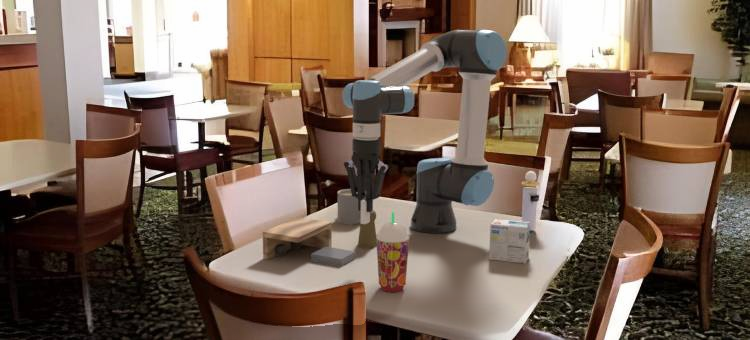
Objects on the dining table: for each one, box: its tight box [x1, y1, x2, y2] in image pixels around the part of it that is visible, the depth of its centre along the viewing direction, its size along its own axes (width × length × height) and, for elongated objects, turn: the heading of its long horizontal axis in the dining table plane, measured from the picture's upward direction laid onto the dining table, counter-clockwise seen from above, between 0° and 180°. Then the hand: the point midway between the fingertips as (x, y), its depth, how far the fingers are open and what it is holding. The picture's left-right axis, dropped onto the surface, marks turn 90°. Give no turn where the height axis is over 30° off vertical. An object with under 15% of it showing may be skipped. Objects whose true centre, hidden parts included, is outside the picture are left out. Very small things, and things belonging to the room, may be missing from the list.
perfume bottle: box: [521, 170, 541, 232], centre depth 235 cm, size 6×6×20 cm
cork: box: [357, 210, 377, 249], centre depth 219 cm, size 6×6×11 cm
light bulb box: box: [488, 218, 531, 264], centre depth 207 cm, size 11×7×11 cm, turn 71°
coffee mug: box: [337, 188, 366, 225], centre depth 249 cm, size 13×10×10 cm
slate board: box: [310, 246, 357, 267], centre depth 206 cm, size 10×8×2 cm
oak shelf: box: [262, 216, 333, 260], centre depth 211 cm, size 12×18×8 cm, turn 153°
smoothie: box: [376, 211, 410, 293], centre depth 182 cm, size 8×8×20 cm
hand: (365, 222), depth 199 cm, fingers closed
